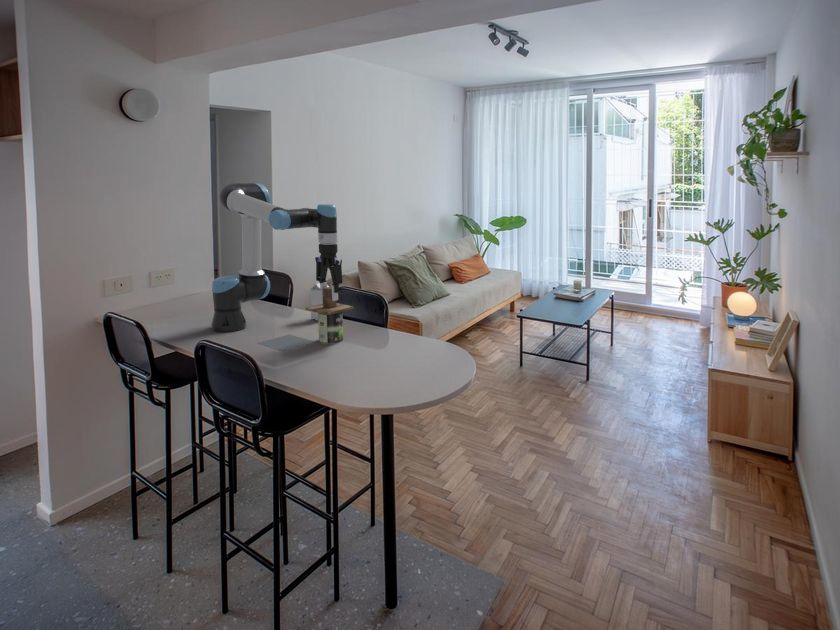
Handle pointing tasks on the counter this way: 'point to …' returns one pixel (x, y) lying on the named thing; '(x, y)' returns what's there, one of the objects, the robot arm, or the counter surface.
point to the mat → (286, 342)
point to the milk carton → (315, 298)
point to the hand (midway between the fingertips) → (329, 299)
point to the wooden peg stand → (329, 304)
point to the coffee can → (330, 328)
